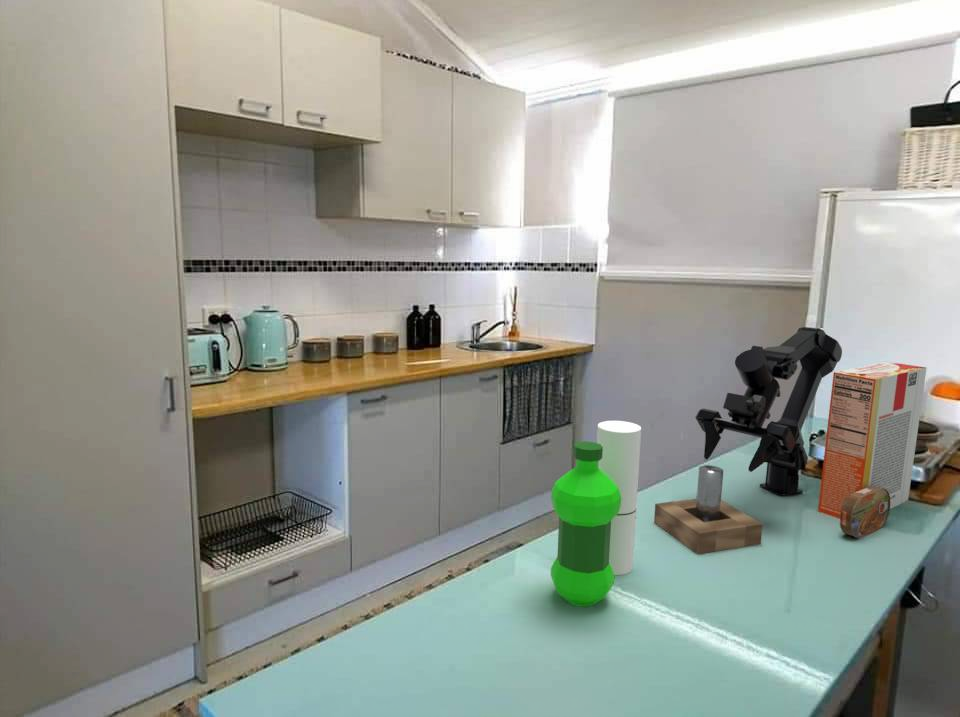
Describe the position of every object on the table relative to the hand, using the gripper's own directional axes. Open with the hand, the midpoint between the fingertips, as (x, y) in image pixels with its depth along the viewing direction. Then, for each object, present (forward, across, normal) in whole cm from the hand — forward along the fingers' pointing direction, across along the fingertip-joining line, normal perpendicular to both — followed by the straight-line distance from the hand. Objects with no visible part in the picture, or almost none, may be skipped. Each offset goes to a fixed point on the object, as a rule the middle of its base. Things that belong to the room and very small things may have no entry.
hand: (727, 464), depth 129 cm
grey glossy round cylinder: (+13, 0, +4) cm, 14 cm away
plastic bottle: (+39, -1, -22) cm, 45 cm away
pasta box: (-14, +16, +32) cm, 38 cm away
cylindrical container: (+31, -4, -13) cm, 34 cm away
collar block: (+13, 0, +4) cm, 14 cm away
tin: (-4, +20, +22) cm, 30 cm away
